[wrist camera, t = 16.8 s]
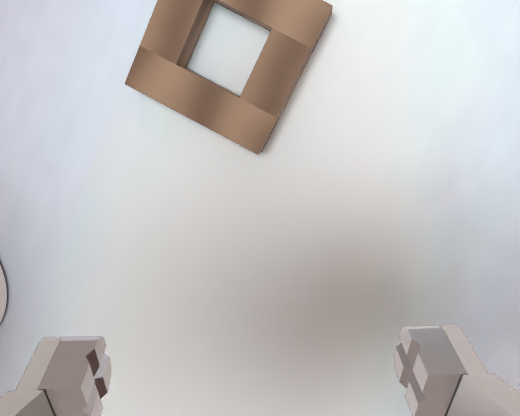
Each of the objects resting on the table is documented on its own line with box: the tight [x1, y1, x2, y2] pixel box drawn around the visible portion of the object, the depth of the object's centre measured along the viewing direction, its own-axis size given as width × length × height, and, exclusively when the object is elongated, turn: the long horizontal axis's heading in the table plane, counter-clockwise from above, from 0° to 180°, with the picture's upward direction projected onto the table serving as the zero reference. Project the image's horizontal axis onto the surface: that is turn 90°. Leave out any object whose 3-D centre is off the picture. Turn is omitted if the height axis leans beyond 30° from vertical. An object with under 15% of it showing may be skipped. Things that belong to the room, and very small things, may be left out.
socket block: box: [125, 0, 332, 154], centre depth 34 cm, size 12×12×2 cm
